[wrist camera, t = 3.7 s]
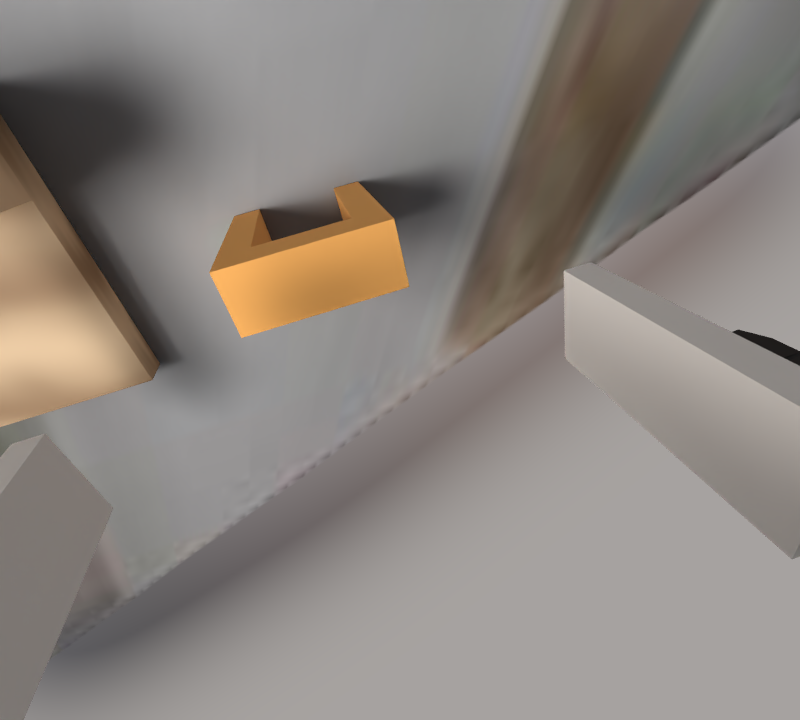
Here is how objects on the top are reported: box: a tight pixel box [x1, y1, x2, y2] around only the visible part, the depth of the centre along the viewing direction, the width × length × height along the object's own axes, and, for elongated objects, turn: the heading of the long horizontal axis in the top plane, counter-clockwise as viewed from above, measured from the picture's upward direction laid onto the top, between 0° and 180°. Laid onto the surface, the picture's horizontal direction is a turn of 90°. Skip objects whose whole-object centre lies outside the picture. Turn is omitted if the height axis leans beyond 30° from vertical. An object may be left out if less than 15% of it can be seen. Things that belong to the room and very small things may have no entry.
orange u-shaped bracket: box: [209, 182, 409, 338], centre depth 22 cm, size 3×8×10 cm, turn 103°
